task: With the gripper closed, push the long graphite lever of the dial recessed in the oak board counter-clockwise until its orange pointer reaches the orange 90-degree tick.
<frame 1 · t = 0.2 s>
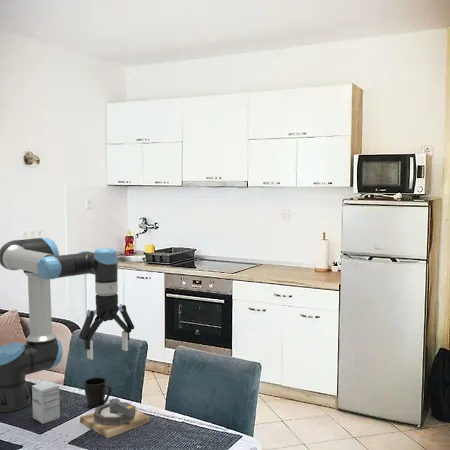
hand: (107, 354, 188), 28 cm above the table, fingers open, 13 cm apart
supplement box: (46, 418, 202), on the table
mug: (99, 406, 213), on the table
dial: (118, 409, 196), point 5 cm above the table, hinge at 0.0°
dial board: (115, 422, 198), on the table
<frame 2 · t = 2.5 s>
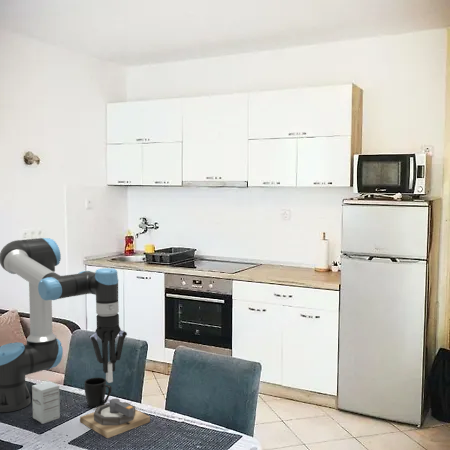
hand: (109, 381, 188), 18 cm above the table, fingers closed
nothing on the table moved.
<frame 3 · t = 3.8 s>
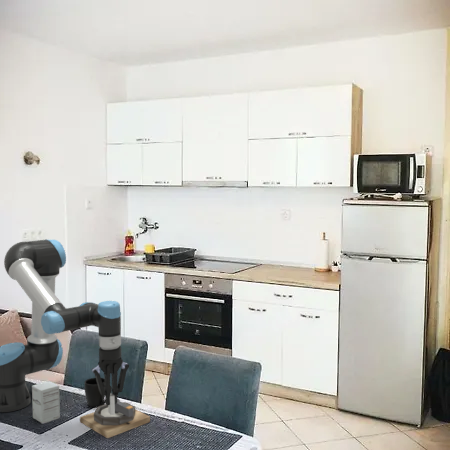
hand: (111, 413, 189), 7 cm above the table, fingers closed
nothing on the table moved.
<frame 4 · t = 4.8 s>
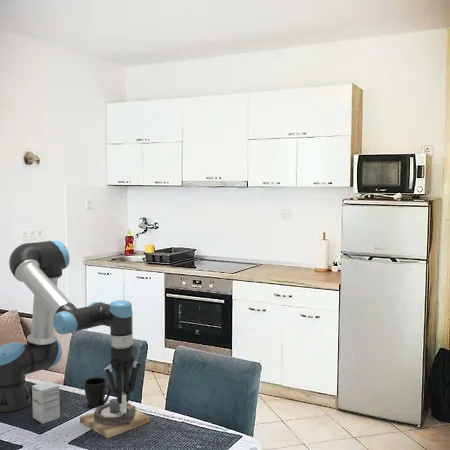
hand: (123, 411, 190), 7 cm above the table, fingers closed
dial: (118, 409, 196), point 5 cm above the table, hinge at 0.0°, touching gripper
everything else where it was.
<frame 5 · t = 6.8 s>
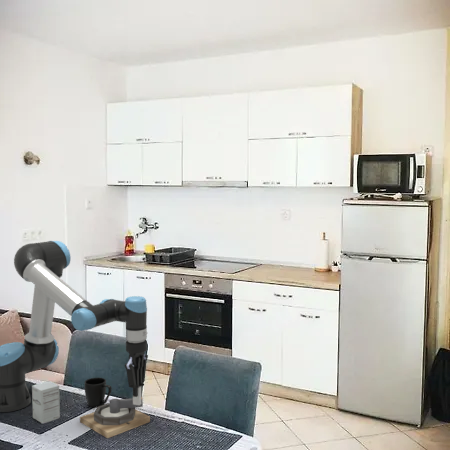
hand: (137, 404, 197), 7 cm above the table, fingers closed
dial: (121, 407, 198), point 5 cm above the table, hinge at 56.6°, touching gripper
everything else where it was.
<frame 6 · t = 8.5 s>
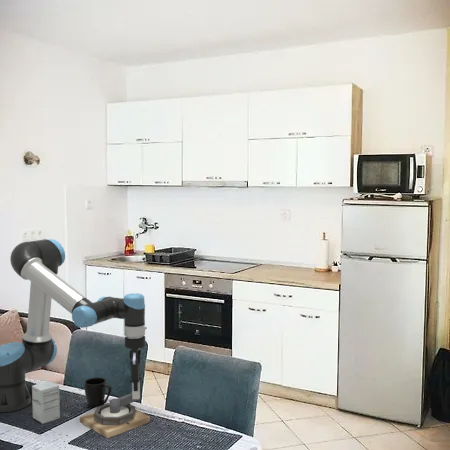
hand: (136, 398, 202), 7 cm above the table, fingers closed
dial: (120, 405, 199), point 5 cm above the table, hinge at 94.6°, touching gripper
everything else where it was.
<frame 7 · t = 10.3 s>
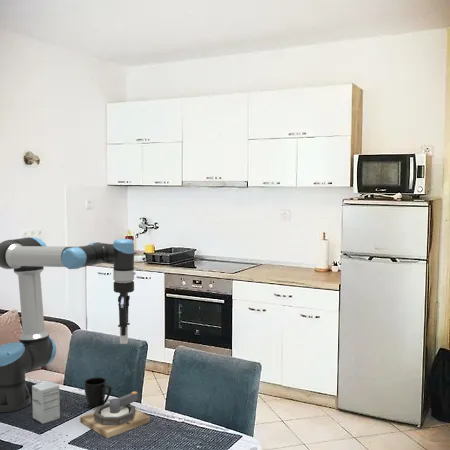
hand: (123, 343, 204), 27 cm above the table, fingers closed
dial: (120, 405, 199), point 5 cm above the table, hinge at 94.6°
everything else where it was.
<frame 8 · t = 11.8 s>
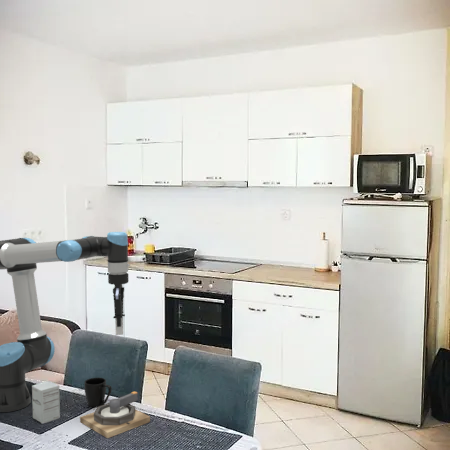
hand: (119, 334, 207), 29 cm above the table, fingers closed
nothing on the table moved.
at the end: dial at +95° (first picture: +0°) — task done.
